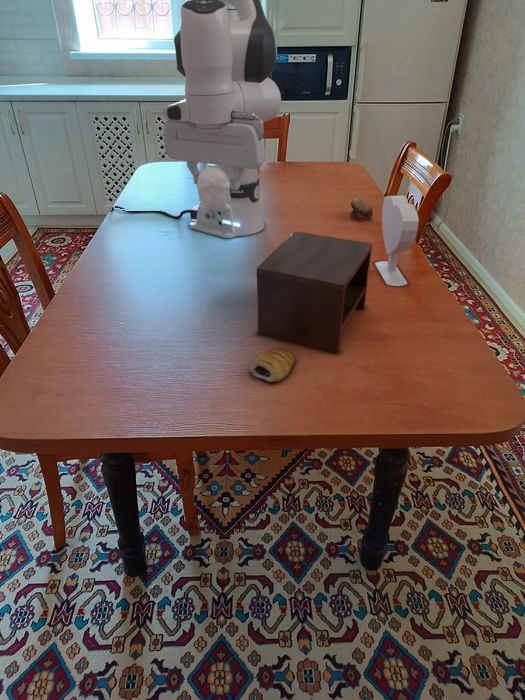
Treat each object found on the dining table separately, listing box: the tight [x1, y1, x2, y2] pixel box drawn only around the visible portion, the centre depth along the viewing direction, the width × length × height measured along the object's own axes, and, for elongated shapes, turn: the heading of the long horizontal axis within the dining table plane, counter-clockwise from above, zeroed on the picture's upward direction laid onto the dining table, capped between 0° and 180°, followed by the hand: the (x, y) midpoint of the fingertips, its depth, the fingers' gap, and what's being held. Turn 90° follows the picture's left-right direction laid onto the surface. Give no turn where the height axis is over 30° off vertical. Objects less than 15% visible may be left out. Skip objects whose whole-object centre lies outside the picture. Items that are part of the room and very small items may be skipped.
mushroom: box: [348, 197, 374, 220], centre depth 149 cm, size 8×8×6 cm
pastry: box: [248, 345, 296, 383], centre depth 90 cm, size 9×7×4 cm
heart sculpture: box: [374, 195, 420, 287], centre depth 115 cm, size 16×5×18 cm, turn 4°
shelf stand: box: [256, 230, 373, 355], centre depth 99 cm, size 17×19×15 cm
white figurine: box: [195, 164, 231, 211], centre depth 96 cm, size 6×8×12 cm
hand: (216, 186), depth 96 cm, fingers closed on white figurine, 6 cm apart
